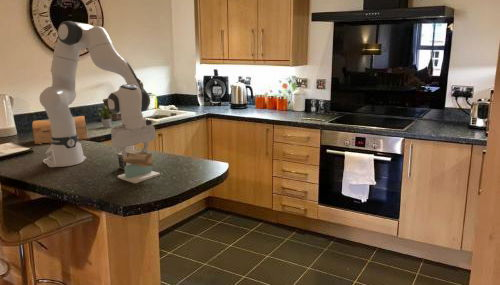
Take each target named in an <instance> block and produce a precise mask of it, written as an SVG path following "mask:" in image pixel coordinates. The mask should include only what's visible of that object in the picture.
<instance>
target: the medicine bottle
mask: <svg viewBox="0 0 500 285" xmlns="http://www.w3.org/2000/svg"><path fill="white" fill-rule="evenodd" d="M128 149H132V150H135V145H132V146H128V147H126V150H128ZM120 151H121V150H120ZM117 159H118V167H119V168H120V169H121V170H122V169H123V171H125V169H124V166H128V165H131V164H130V163H126V162H123V155H122V151H121V152H118V153H117Z"/></svg>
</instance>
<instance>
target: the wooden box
mask: <svg viewBox="0 0 500 285" xmlns="http://www.w3.org/2000/svg"><path fill="white" fill-rule="evenodd" d="M73 118H74V121H75V128H76V134H77V135H78V141H81V140H82V141H84V140H87V139H88V134H87V133H88V132H87V125H86V118H85V115H79V116H73ZM31 126H32V127H31V128H32V134H33V139H34V145H35V144H39V143H49V144H51V137H52V132H51V126H50V121H49V118H47V119H41V120H39V119H38V120H33V121H32V125H31Z"/></svg>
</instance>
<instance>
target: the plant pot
mask: <svg viewBox="0 0 500 285" xmlns="http://www.w3.org/2000/svg"><path fill="white" fill-rule="evenodd" d="M107 99H108V98H104V99H102V102H103V106H104V105H105V107H106V108H107V107H108V105H107ZM108 111H109V109H108V110H107V112H108ZM109 112H110V111H109ZM111 113H113V112H111ZM111 113H110V116H108V117H109V118H112V120H111V122H112V121H118V120H119V121H120V120H121V114H114V113H113V114H112V115H111ZM121 121H122V120H121Z"/></svg>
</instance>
